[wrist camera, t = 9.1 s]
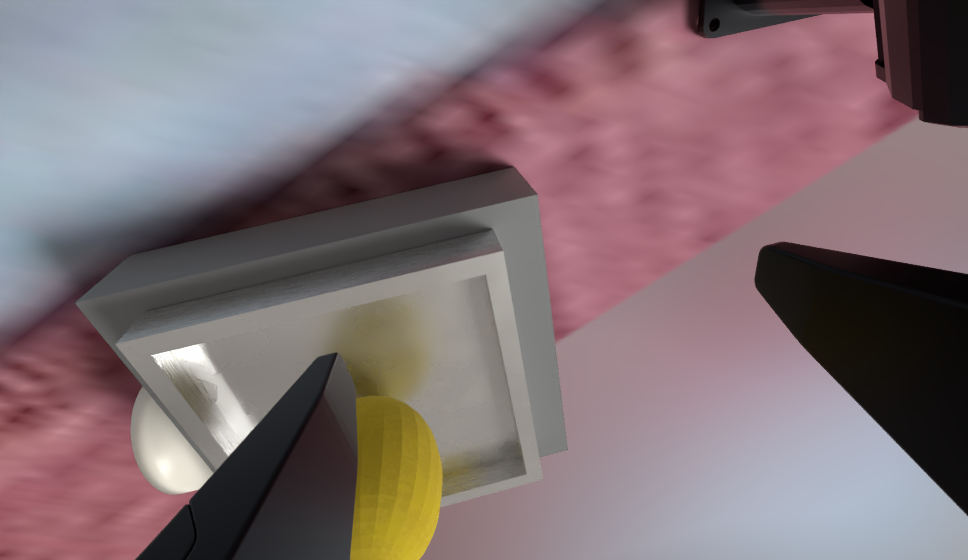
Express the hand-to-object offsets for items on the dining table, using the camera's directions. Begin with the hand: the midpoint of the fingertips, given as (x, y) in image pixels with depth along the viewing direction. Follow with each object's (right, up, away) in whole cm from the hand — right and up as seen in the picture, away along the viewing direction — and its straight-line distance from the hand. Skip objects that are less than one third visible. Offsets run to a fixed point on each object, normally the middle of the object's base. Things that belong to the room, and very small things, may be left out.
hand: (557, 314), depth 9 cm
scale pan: (-7, -5, +12) cm, 15 cm away
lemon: (-7, -5, +11) cm, 14 cm away
